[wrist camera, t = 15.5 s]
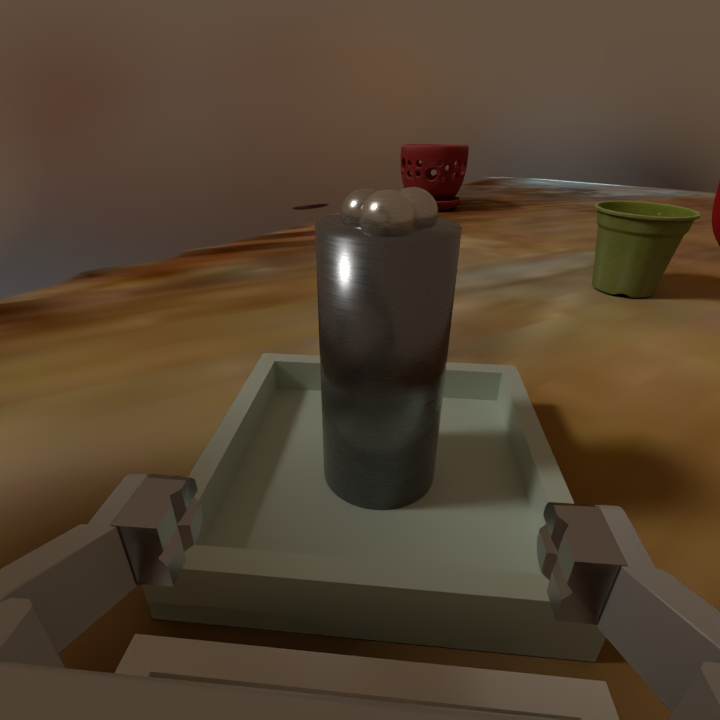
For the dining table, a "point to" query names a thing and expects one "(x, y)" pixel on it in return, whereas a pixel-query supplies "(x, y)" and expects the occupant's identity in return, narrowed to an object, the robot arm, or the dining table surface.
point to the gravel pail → (384, 342)
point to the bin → (377, 526)
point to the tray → (368, 678)
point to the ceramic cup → (716, 215)
